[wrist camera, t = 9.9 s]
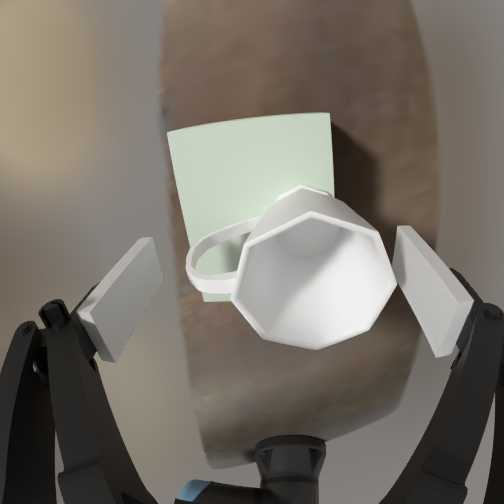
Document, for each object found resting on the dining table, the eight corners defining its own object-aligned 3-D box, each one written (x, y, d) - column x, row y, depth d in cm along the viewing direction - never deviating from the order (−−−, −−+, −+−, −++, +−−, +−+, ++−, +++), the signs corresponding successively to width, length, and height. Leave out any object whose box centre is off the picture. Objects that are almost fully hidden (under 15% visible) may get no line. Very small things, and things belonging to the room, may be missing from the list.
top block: (326, 267, 24) (333, 295, 21) (214, 274, 26) (204, 301, 22) (320, 112, 18) (329, 113, 15) (186, 127, 20) (166, 132, 16)
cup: (356, 258, 19) (386, 343, 12) (218, 270, 21) (188, 354, 14) (355, 159, 16) (405, 204, 9) (195, 177, 18) (139, 231, 11)
